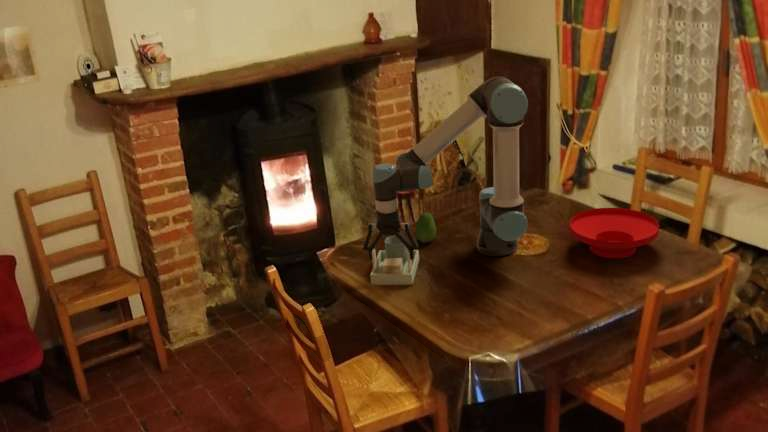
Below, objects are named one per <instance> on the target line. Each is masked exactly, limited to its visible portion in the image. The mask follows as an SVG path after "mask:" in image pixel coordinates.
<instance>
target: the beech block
mask: <svg viewBox="0 0 768 432" xmlns="http://www.w3.org/2000/svg"><path fill="white" fill-rule="evenodd" d="M382 267H383V274H403V262H402V258H385V260H384V263H383V266H382Z"/></svg>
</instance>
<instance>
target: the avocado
mask: <svg viewBox="0 0 768 432" xmlns="http://www.w3.org/2000/svg"><path fill="white" fill-rule="evenodd" d="M414 230H415V235H416V238H417V239H418V240H419V242H421V243H424V244H428V243H430V242H432V241H433V240H434V239H435V237H436V234H437V226H436V223H435V219H434V217H433V215H432V214H431V213H430V212H422V213H421V214H420V215H419V217H418V220H417V221H416V224H415V228H414Z"/></svg>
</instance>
